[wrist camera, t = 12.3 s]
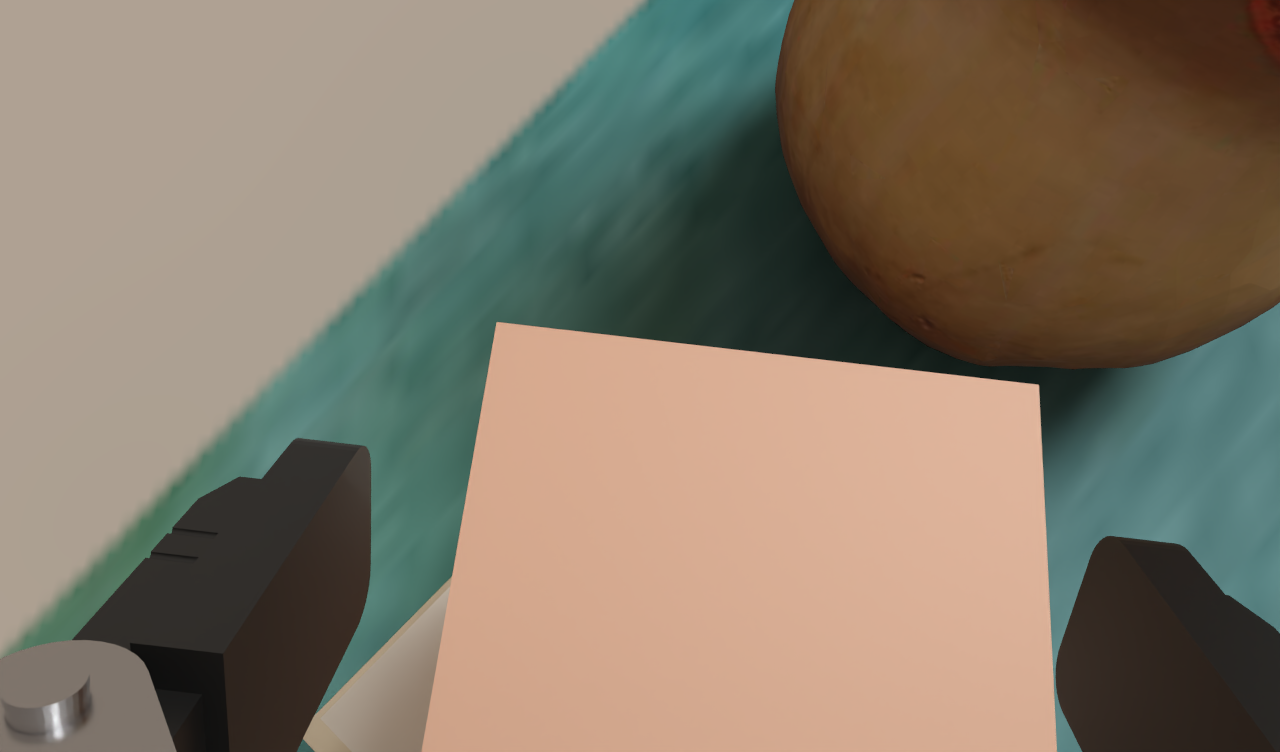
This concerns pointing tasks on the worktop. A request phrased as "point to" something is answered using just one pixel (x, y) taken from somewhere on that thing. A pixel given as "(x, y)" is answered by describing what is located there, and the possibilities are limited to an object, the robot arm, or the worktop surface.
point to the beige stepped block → (387, 691)
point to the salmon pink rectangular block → (744, 557)
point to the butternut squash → (1042, 169)
